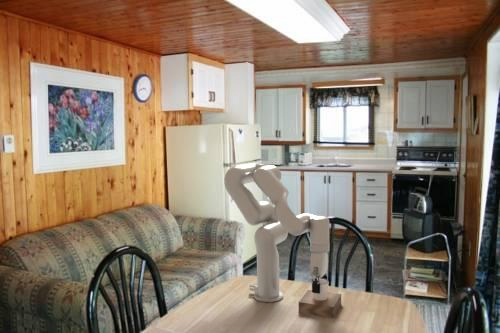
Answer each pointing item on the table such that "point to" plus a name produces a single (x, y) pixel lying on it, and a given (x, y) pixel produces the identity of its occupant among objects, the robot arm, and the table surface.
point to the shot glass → (322, 290)
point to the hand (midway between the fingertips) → (319, 288)
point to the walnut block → (320, 305)
